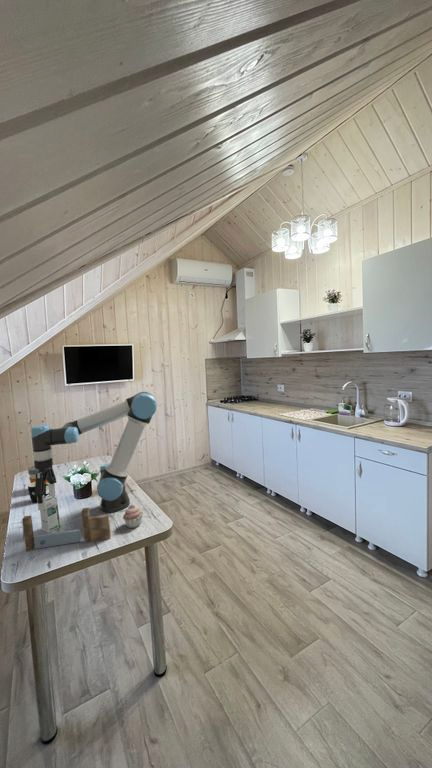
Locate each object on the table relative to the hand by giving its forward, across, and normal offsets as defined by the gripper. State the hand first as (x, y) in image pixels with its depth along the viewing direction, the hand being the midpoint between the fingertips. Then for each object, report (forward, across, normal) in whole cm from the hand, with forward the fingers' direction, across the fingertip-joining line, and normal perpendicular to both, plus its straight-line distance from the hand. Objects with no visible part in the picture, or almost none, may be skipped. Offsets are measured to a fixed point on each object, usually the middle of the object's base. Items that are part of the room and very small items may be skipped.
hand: (47, 503), depth 149 cm
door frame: (+12, +16, +13) cm, 24 cm away
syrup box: (+13, 0, 0) cm, 13 cm away
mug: (+13, -38, -18) cm, 44 cm away
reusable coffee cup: (+13, -55, -24) cm, 61 cm away
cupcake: (+12, +8, +40) cm, 42 cm away
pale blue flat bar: (+12, +16, +9) cm, 22 cm away
